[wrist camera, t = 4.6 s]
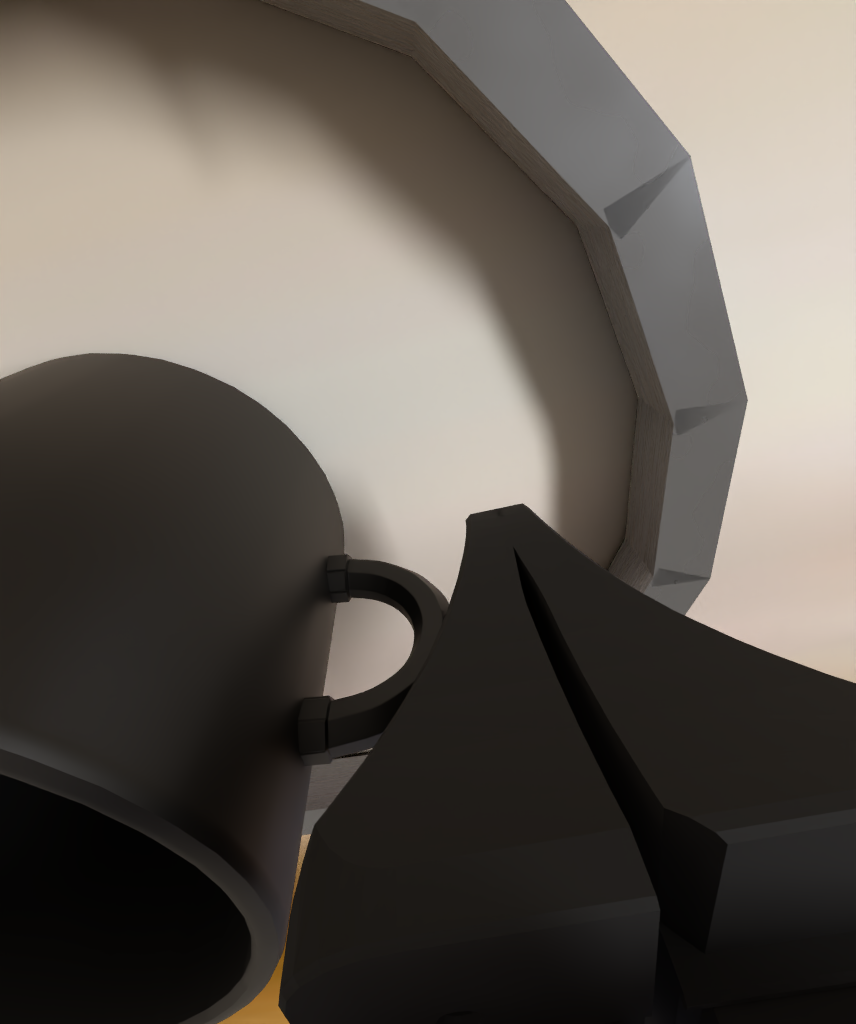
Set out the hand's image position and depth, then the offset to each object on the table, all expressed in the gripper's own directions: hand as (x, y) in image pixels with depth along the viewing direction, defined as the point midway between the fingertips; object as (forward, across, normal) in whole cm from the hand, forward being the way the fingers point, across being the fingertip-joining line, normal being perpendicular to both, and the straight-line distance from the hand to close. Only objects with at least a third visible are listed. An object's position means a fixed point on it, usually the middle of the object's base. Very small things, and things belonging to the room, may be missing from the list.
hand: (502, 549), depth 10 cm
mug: (+4, +7, 0) cm, 8 cm away
